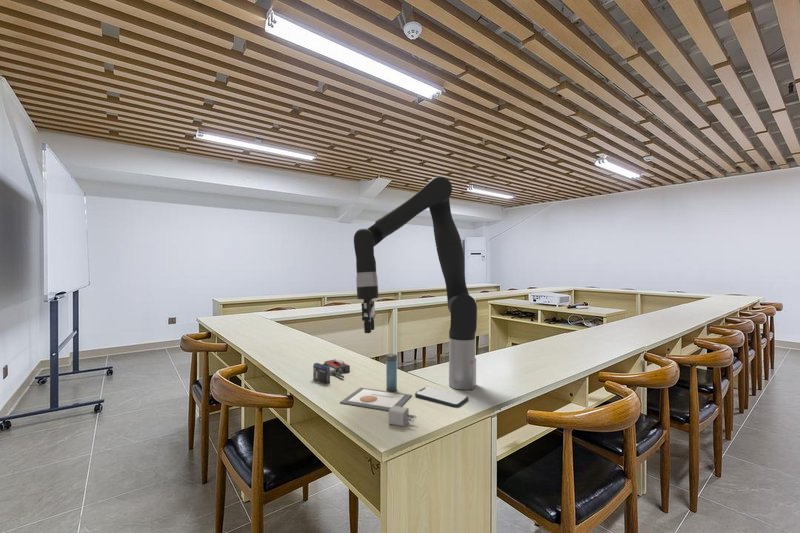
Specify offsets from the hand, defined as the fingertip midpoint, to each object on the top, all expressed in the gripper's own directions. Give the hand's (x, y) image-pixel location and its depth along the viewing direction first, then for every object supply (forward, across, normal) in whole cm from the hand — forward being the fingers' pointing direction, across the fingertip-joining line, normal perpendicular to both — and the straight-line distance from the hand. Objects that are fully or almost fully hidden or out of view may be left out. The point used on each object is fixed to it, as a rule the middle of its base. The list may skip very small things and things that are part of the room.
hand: (369, 331), depth 125 cm
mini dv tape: (+19, +8, +20) cm, 29 cm away
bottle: (+20, 0, -6) cm, 22 cm away
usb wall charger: (+23, -25, -12) cm, 36 cm away
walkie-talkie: (+18, +20, +17) cm, 32 cm away
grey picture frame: (+21, -9, -2) cm, 23 cm away
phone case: (+23, -6, -23) cm, 33 cm away
